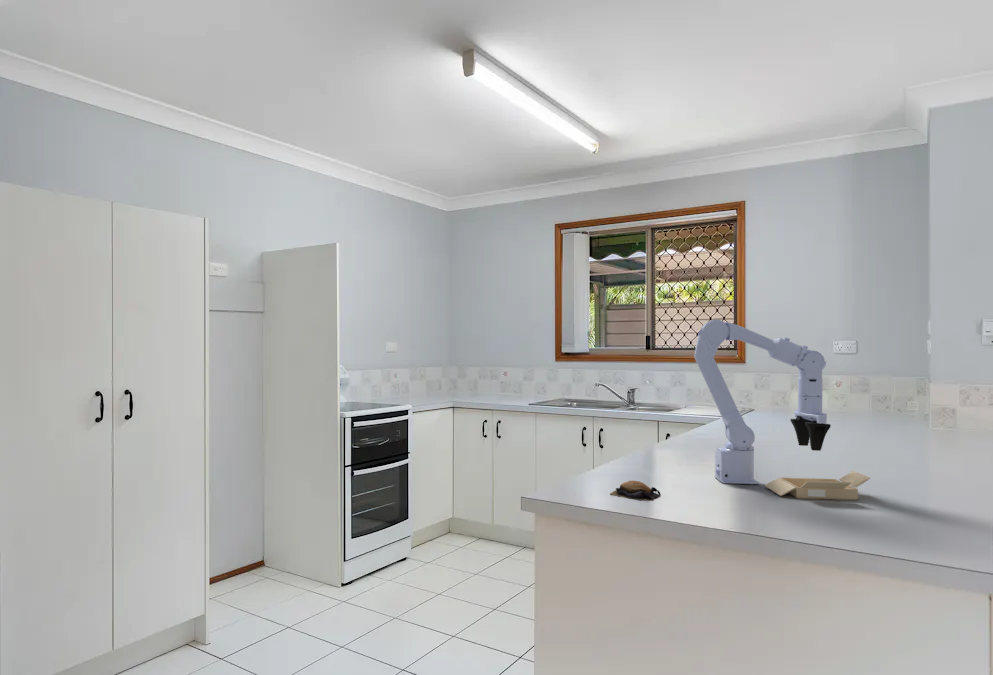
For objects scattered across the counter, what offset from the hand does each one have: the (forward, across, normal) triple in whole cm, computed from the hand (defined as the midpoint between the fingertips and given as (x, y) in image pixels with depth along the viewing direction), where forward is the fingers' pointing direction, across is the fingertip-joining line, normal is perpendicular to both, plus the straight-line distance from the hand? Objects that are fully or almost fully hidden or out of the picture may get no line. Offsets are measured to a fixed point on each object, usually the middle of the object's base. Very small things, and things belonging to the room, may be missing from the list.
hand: (809, 447), depth 160 cm
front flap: (+6, -16, +3) cm, 18 cm away
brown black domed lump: (+11, -16, +48) cm, 51 cm away
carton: (+10, -7, +4) cm, 13 cm away
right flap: (+6, -9, -7) cm, 13 cm away
